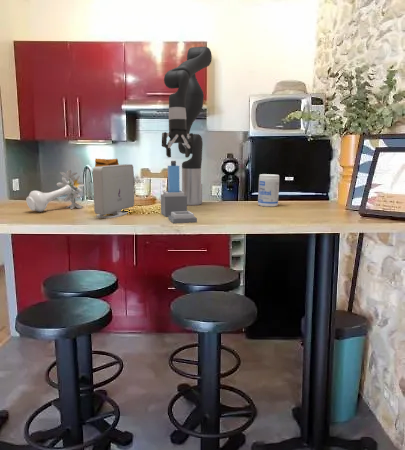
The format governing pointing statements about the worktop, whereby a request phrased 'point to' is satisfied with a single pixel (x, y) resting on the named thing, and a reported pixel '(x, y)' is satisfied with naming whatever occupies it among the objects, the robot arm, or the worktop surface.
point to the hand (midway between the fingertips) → (178, 157)
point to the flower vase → (57, 193)
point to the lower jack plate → (182, 217)
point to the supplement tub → (268, 190)
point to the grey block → (173, 202)
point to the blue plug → (173, 178)
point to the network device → (113, 189)
